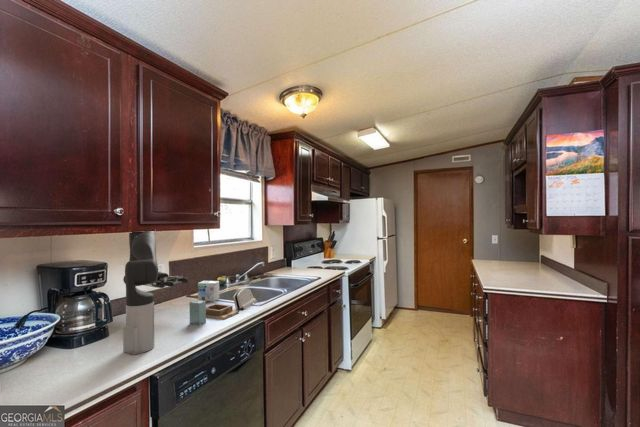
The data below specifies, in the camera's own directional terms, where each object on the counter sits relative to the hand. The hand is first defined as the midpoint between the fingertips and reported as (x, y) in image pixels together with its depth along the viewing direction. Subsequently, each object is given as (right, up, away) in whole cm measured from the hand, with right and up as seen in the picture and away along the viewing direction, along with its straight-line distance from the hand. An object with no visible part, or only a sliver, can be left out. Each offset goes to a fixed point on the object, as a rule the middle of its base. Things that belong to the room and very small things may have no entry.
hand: (180, 282), depth 149 cm
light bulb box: (0, -19, +37) cm, 41 cm away
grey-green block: (+10, -18, -5) cm, 21 cm away
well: (+15, -18, +8) cm, 25 cm away
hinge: (+25, -19, +24) cm, 39 cm away
